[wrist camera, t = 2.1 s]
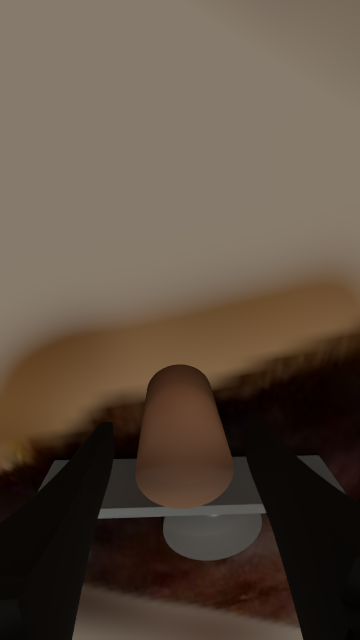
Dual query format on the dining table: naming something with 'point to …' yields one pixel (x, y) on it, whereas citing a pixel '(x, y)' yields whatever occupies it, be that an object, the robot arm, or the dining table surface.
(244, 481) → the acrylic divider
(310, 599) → the robot arm
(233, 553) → the slate coaster
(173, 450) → the terracotta cylinder
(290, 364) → the dining table surface
